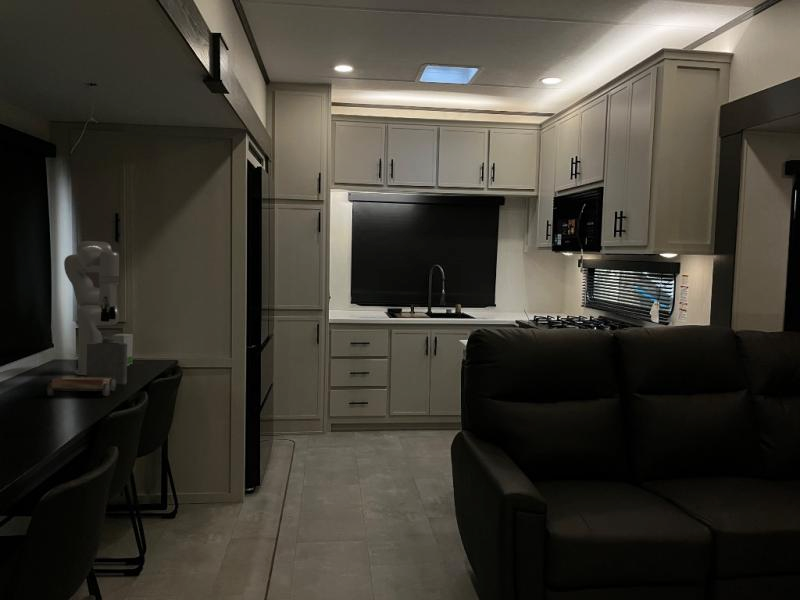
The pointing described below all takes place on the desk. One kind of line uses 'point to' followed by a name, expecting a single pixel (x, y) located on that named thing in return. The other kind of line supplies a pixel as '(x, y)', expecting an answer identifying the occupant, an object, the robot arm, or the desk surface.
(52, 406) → the desk surface
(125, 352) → the grey upright notched slab
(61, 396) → the desk surface
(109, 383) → the dolly
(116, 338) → the skincare box
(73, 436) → the desk surface
